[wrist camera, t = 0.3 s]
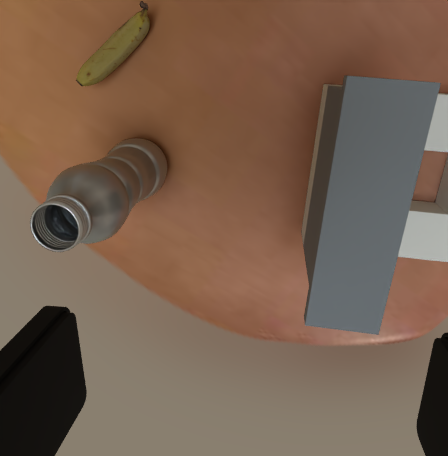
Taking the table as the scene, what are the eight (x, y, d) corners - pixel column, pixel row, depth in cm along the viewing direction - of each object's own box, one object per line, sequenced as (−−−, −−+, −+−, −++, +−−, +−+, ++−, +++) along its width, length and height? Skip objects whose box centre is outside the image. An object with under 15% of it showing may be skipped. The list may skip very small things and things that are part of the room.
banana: (101, 91, 44) (85, 93, 41) (85, 73, 44) (67, 74, 40) (165, 18, 41) (154, 13, 37) (148, -1, 41) (135, -8, 37)
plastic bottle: (183, 164, 46) (121, 229, 28) (144, 204, 48) (63, 288, 30) (141, 121, 45) (46, 159, 27) (103, 164, 47) (-9, 226, 29)
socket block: (319, 72, 41) (347, 75, 25) (483, 85, 40) (620, 96, 24) (295, 239, 48) (305, 325, 32) (435, 255, 47) (517, 352, 31)
